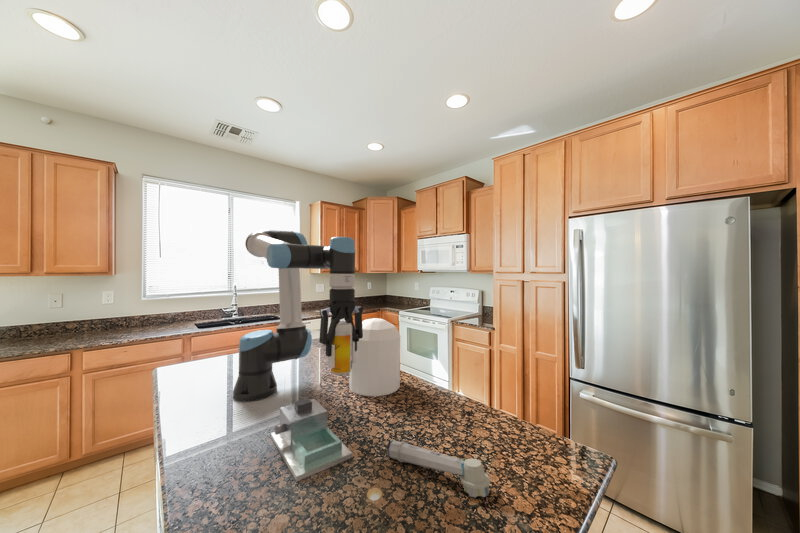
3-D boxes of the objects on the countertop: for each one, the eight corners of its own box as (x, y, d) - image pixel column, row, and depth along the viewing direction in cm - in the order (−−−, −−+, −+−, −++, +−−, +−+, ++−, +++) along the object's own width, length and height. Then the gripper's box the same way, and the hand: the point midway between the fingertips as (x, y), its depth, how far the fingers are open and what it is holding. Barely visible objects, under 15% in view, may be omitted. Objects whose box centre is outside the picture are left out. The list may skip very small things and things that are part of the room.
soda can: (332, 369, 91) (333, 321, 91) (352, 368, 91) (352, 320, 92) (330, 376, 85) (330, 324, 85) (351, 375, 85) (351, 324, 86)
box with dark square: (269, 437, 82) (269, 401, 83) (318, 421, 91) (318, 389, 91) (294, 482, 65) (295, 436, 65) (352, 457, 74) (352, 417, 74)
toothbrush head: (395, 435, 77) (489, 454, 64) (398, 461, 77) (494, 486, 64) (384, 445, 73) (482, 467, 60) (387, 473, 72) (487, 502, 59)
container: (409, 382, 124) (409, 316, 124) (380, 401, 106) (380, 324, 107) (370, 373, 135) (371, 312, 136) (338, 388, 117) (338, 318, 118)
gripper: (317, 289, 80) (316, 374, 79) (375, 287, 92) (374, 361, 91) (307, 288, 86) (306, 367, 85) (362, 286, 98) (362, 356, 97)
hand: (341, 364), depth 88 cm, fingers closed on soda can, 6 cm apart
